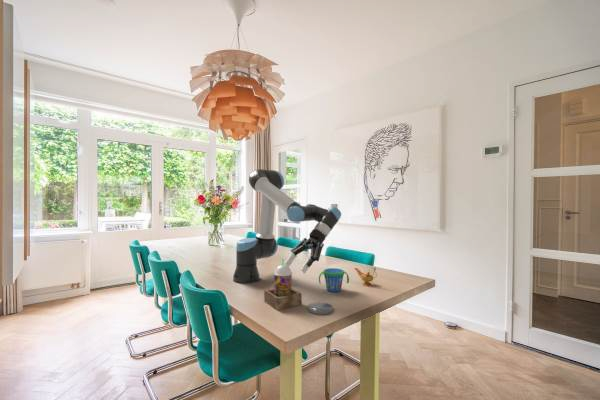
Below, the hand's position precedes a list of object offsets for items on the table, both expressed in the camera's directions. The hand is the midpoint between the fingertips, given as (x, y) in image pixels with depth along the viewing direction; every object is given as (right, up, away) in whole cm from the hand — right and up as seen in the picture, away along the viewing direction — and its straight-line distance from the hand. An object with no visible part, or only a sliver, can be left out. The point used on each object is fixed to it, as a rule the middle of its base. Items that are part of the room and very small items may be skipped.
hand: (294, 268), depth 128 cm
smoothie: (-5, -15, -2) cm, 16 cm away
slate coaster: (+11, -15, -9) cm, 21 cm away
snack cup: (+20, -16, +16) cm, 30 cm away
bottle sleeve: (-5, -15, -2) cm, 16 cm away
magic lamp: (+39, -16, +28) cm, 51 cm away
